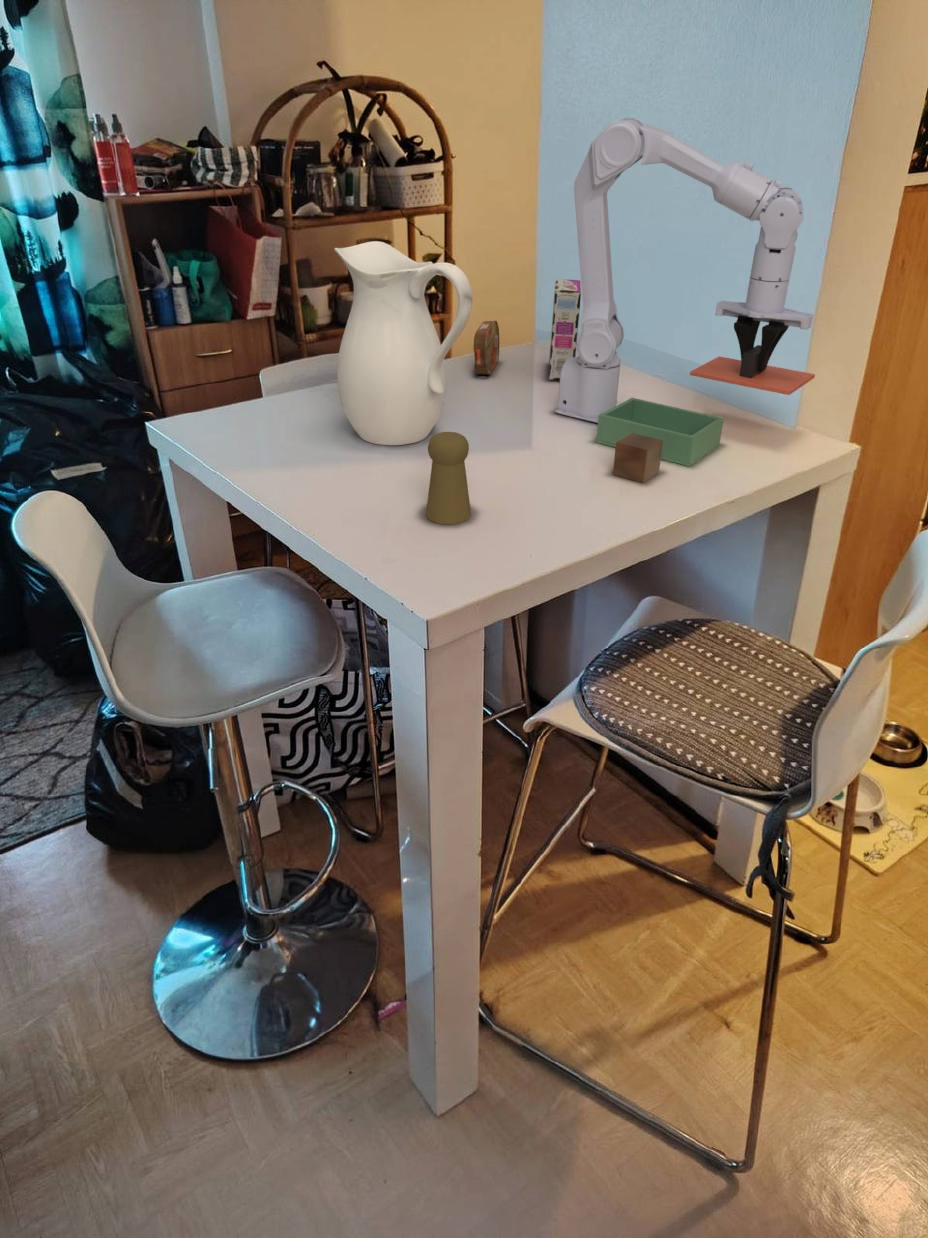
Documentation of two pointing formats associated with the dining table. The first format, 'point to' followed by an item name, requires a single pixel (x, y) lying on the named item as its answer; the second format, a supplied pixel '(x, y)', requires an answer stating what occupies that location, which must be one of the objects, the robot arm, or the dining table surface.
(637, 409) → the box
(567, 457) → the dining table surface
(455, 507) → the olive pawn figure
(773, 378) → the lunchbox lid
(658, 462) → the walnut block
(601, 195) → the robot arm
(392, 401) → the pitcher
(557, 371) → the candy bar box
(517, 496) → the dining table surface
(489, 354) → the tin
